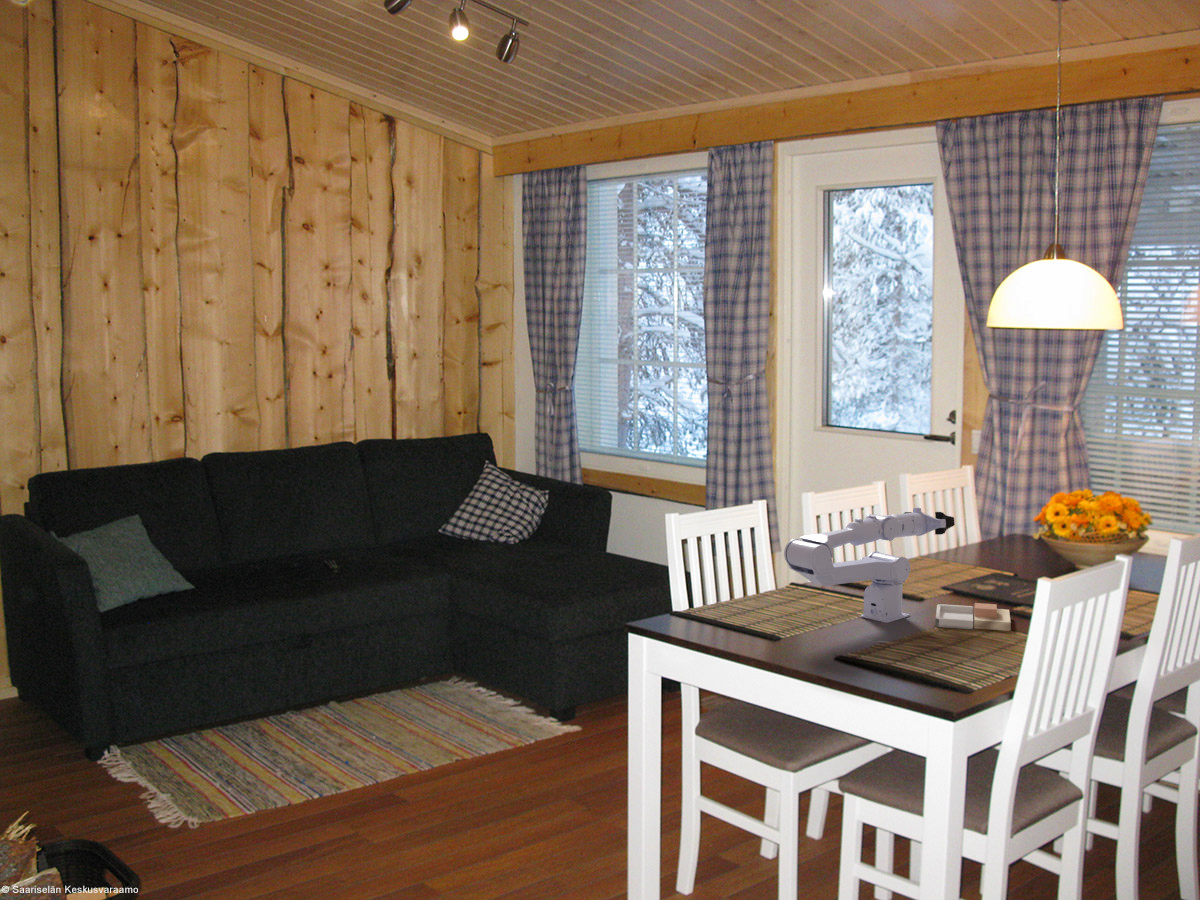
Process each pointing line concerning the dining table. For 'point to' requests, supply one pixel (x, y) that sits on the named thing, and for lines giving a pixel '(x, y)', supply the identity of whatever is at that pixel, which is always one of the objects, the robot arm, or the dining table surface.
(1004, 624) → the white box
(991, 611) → the tile
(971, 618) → the tray
